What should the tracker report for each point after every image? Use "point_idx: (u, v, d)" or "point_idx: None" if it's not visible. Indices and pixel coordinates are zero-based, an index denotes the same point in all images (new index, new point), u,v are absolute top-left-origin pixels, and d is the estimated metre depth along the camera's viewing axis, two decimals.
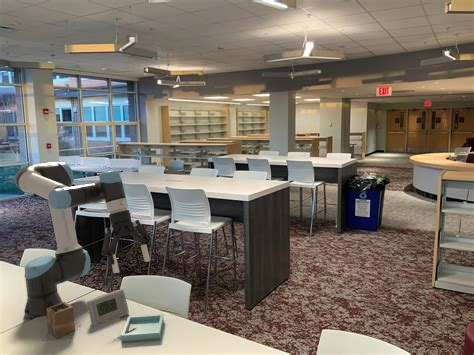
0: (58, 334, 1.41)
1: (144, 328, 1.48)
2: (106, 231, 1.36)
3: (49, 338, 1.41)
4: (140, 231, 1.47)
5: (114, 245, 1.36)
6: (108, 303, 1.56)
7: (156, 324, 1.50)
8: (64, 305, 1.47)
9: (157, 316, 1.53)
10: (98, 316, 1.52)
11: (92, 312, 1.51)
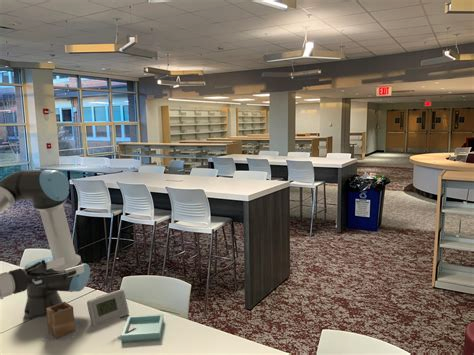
0: (58, 334, 1.41)
1: (144, 328, 1.48)
2: None
3: (49, 338, 1.41)
4: None
5: None
6: (108, 303, 1.56)
7: (156, 324, 1.50)
8: (64, 305, 1.47)
9: (157, 316, 1.53)
10: (98, 316, 1.52)
11: (92, 313, 1.51)
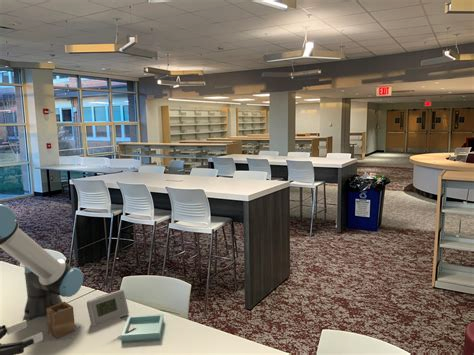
0: (58, 334, 1.41)
1: (144, 328, 1.48)
2: None
3: (49, 338, 1.41)
4: None
5: None
6: (107, 304, 1.55)
7: (156, 324, 1.50)
8: (64, 305, 1.47)
9: (157, 316, 1.53)
10: (97, 316, 1.51)
11: (92, 313, 1.50)
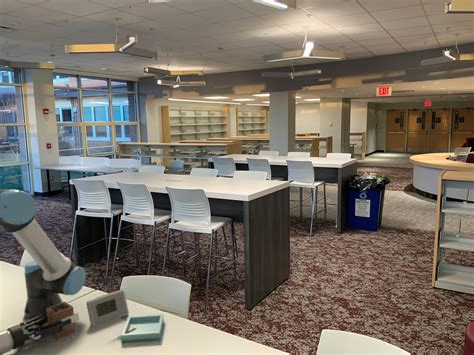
0: (58, 334, 1.41)
1: (144, 328, 1.48)
2: None
3: (49, 338, 1.41)
4: None
5: None
6: (107, 304, 1.55)
7: (156, 324, 1.50)
8: (64, 305, 1.47)
9: (157, 316, 1.53)
10: (97, 317, 1.51)
11: (91, 313, 1.50)
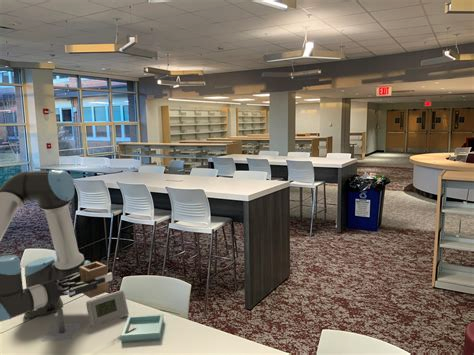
0: (91, 293, 1.36)
1: (144, 328, 1.48)
2: None
3: (49, 338, 1.41)
4: None
5: None
6: (107, 304, 1.55)
7: (156, 324, 1.50)
8: (97, 264, 1.42)
9: (157, 316, 1.53)
10: (97, 317, 1.51)
11: (91, 313, 1.50)
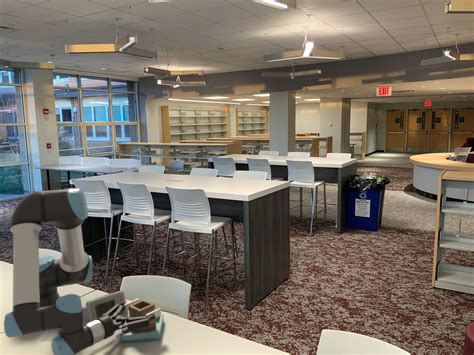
0: (142, 331, 1.43)
1: None
2: None
3: (49, 338, 1.41)
4: None
5: None
6: (107, 305, 1.55)
7: (156, 324, 1.50)
8: (144, 302, 1.49)
9: None
10: (96, 317, 1.51)
11: (90, 314, 1.50)
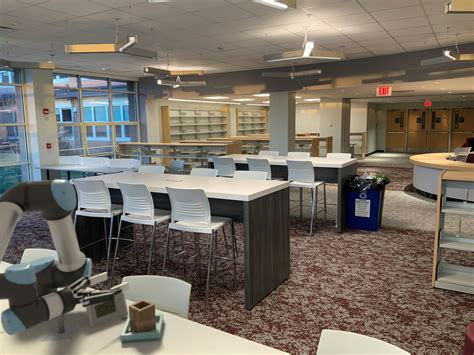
0: (142, 331, 1.43)
1: None
2: None
3: (49, 338, 1.41)
4: None
5: None
6: (106, 305, 1.54)
7: (156, 324, 1.50)
8: (144, 302, 1.49)
9: (157, 316, 1.53)
10: (96, 318, 1.50)
11: (90, 314, 1.50)
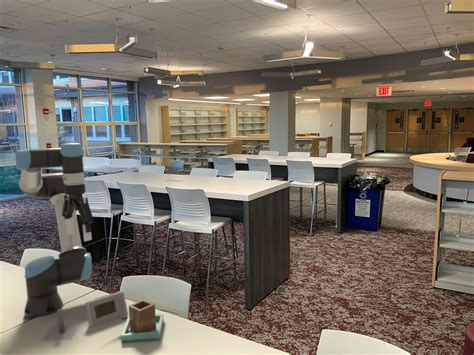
0: (142, 331, 1.43)
1: None
2: None
3: (49, 338, 1.41)
4: None
5: (66, 211, 1.50)
6: (106, 305, 1.54)
7: (156, 324, 1.50)
8: (144, 302, 1.49)
9: (157, 316, 1.53)
10: (96, 318, 1.50)
11: (90, 314, 1.49)
